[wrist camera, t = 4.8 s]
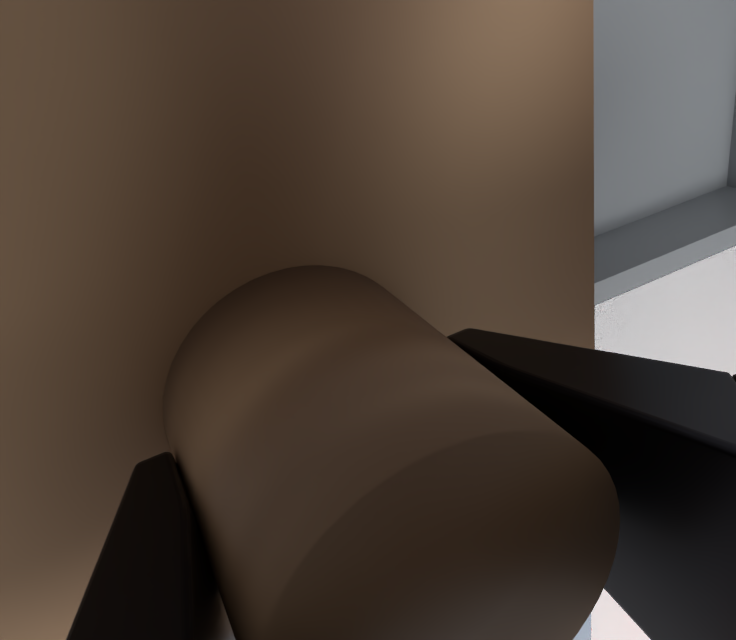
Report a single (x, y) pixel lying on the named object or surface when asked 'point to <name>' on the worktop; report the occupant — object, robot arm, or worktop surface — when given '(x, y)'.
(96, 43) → the brown knobbed box
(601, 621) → the worktop surface
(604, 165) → the tray
